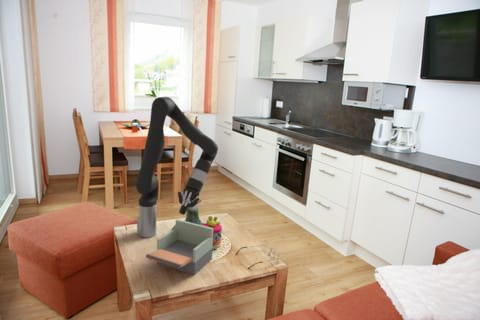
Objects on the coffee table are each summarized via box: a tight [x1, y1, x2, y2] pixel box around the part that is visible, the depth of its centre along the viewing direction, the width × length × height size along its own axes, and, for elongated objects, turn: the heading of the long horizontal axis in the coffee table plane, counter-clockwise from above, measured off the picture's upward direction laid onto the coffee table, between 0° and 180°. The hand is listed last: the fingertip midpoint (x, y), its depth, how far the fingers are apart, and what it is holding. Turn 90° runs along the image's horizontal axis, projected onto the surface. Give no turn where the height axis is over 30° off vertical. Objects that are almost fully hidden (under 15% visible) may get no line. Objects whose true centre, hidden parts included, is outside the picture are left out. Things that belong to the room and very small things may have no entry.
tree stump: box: [173, 204, 205, 229], centre depth 193 cm, size 18×20×18 cm
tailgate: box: [145, 249, 192, 268], centre depth 147 cm, size 1×17×10 cm
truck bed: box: [156, 218, 213, 276], centre depth 159 cm, size 16×20×16 cm
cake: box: [202, 215, 223, 251], centre depth 176 cm, size 10×11×15 cm
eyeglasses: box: [235, 242, 281, 269], centre depth 167 cm, size 16×19×5 cm
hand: (181, 214), depth 157 cm, fingers closed
